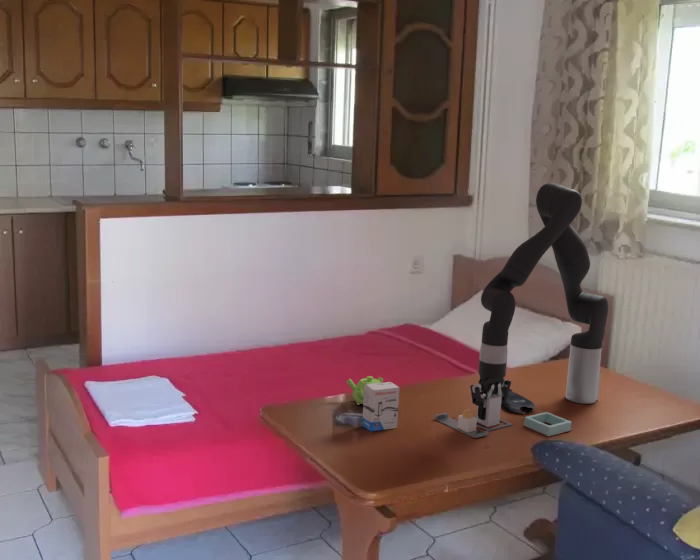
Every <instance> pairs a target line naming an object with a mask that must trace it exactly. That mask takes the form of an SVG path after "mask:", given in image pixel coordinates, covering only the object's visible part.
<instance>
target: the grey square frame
mask: <svg viewBox="0 0 700 560" xmlns="http://www.w3.org/2000/svg"><path fill="white" fill-rule="evenodd" d="M474 417H475V418H477V415H476V416H474ZM500 422H501V423H503V425H502V424H501V425H497V426H495V427H490V428H487V427H486V426H484V425H483V426H482V425H481V424H479V423H476V428H479V429H481V430H483V431H488V432H491V431H495V429H496V430H499V429H503V428H507V427H508V428H509V427H512V426H513V423H510V422H508V421H506V420H503V419H501V418H500ZM505 423H506V424H505Z"/></svg>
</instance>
